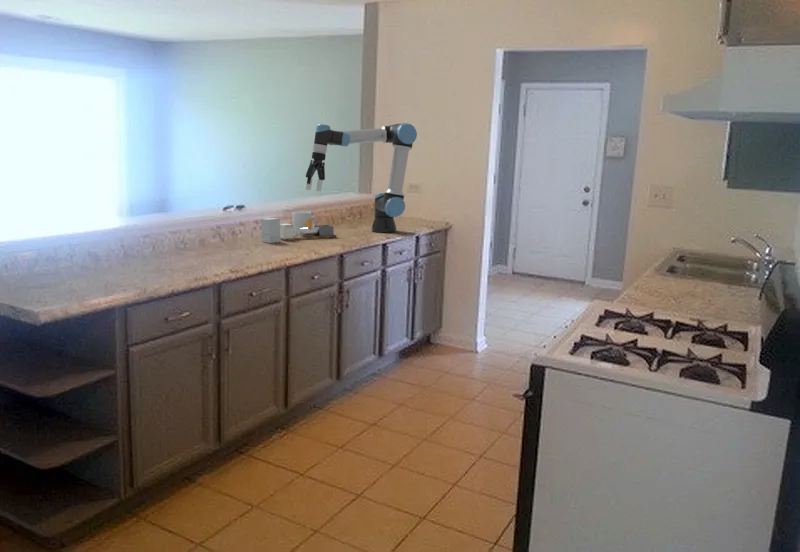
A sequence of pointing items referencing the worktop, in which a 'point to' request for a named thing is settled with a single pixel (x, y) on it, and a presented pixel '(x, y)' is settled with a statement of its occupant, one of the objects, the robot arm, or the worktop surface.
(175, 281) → the worktop surface
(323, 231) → the sleeve
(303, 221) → the mug
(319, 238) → the rail board
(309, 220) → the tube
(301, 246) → the worktop surface
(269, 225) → the supplement box
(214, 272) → the worktop surface
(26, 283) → the worktop surface
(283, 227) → the socket
